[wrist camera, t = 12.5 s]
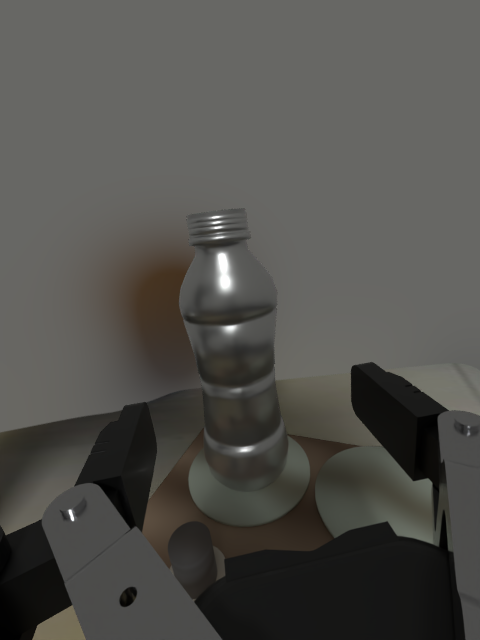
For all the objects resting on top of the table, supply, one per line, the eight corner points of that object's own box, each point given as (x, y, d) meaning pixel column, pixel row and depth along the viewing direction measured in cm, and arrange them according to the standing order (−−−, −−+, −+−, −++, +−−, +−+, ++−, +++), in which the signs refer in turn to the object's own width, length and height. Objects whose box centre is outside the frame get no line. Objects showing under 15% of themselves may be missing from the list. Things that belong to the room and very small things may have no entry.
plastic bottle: (217, 442, 28) (180, 219, 22) (290, 442, 27) (272, 207, 21) (199, 504, 22) (140, 219, 16) (292, 507, 21) (267, 202, 15)
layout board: (623, 878, 9) (664, 817, 8) (89, 598, 18) (69, 549, 17) (471, 476, 23) (478, 431, 22) (210, 430, 32) (204, 396, 31)
